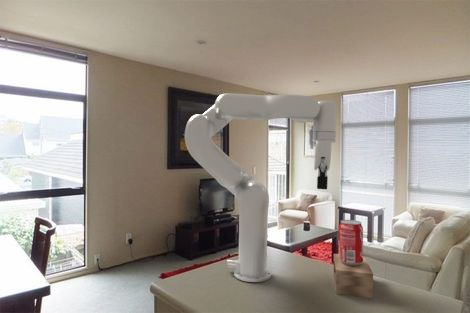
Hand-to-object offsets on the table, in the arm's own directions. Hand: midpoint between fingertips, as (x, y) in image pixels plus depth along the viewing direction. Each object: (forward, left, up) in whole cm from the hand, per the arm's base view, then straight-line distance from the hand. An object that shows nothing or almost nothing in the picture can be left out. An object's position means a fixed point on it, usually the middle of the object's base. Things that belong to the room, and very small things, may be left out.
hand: (322, 187), depth 106 cm
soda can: (+9, -6, -23) cm, 25 cm away
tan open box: (+9, -6, -30) cm, 32 cm away
